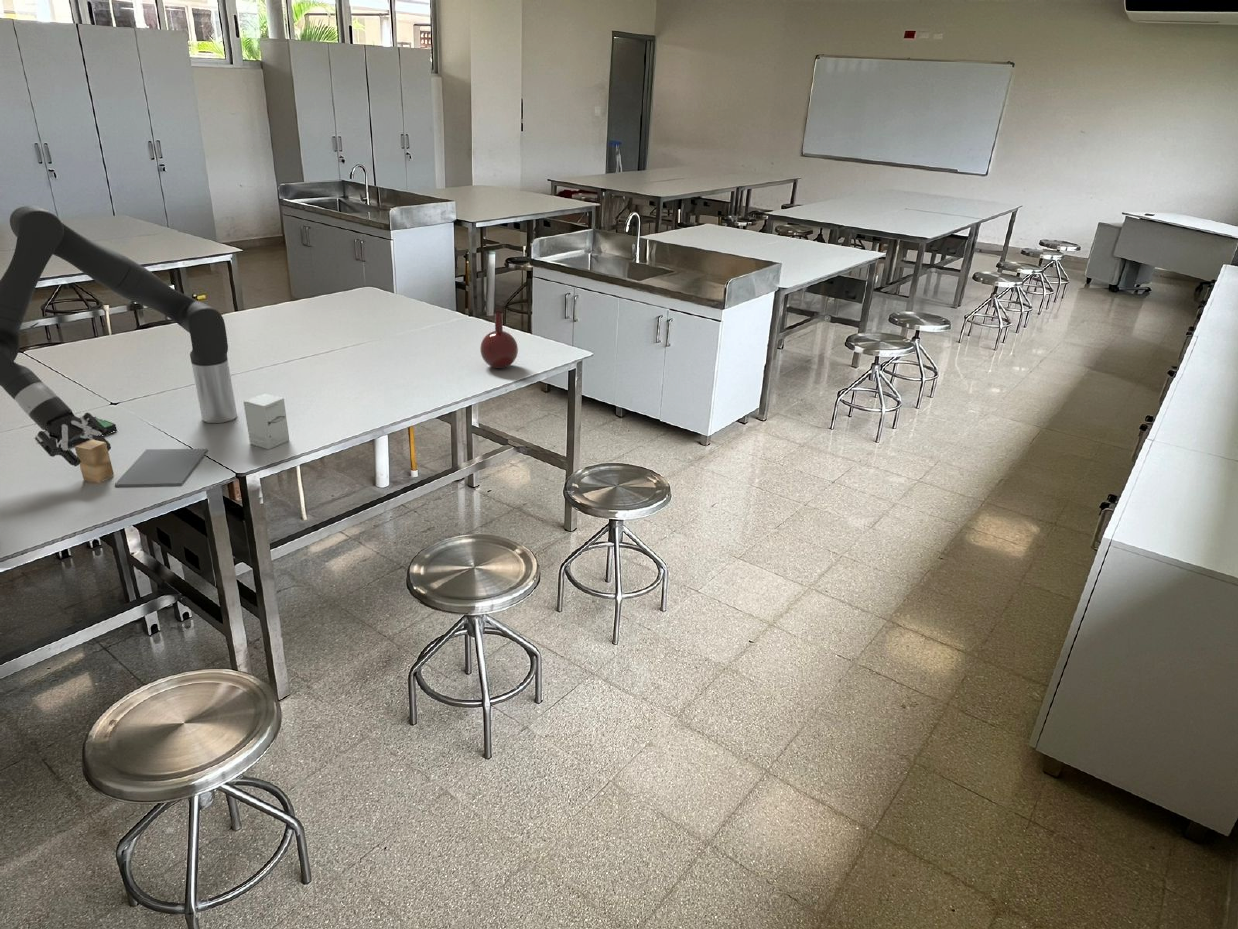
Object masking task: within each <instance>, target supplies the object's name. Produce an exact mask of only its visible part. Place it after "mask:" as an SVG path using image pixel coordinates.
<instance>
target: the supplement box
mask: <svg viewBox="0 0 1238 929" xmlns="http://www.w3.org/2000/svg"><path fill="white" fill-rule="evenodd" d="M243 406H244V408H243V409H244V413H245V414H244V415H245V419H246V420H245V421H246V427H247V434H248V440H249V444H250V445H254V446H257V447H260V448H263V449H266V450H270V449H273V448H274V447H276V446H278V445H281V444H284V443H286V442H288V441H289V440H290V433H289V428H288V427H289V426H288V420H287V413H286V405H285V398H284V397H281V396H276V395H272V394H269V393H263V394H260V395H257V396H254V397H252V398H248V399H246V400H243Z"/></svg>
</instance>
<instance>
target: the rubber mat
mask: <svg viewBox="0 0 1238 929" xmlns="http://www.w3.org/2000/svg"><path fill="white" fill-rule="evenodd" d="M208 449H209V448H176V449H175V448H165V449H163V448H162V449H161V448H160V449H159V448H155V449H154V448H153V449H145V450H144V452H142V453H141V455H140V456H139V457H138V458H137V459H136V460H135V461H134V462H133V464H131V466H130V467H129V468H128V469H127V470H126V471H125V472H124V473H123V474H122V475H121V476H120V478H119V479H118V480H117V481H116V482H115V483H114V484H113V485H114V487H115V486H123V487H161V486H163V487H164V486H168V487H169V486H171V487H172V486H183V484H184V483H185V482H186V481H187V479H189V477H190V475H191V474H192V473H193V471H194V470H195V469H196V467H197V466H198V465H199V464H200V462H201V461H202V459H203V458H204V456H205V455H206V454H207V453H208V451H209V450H208Z"/></svg>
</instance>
